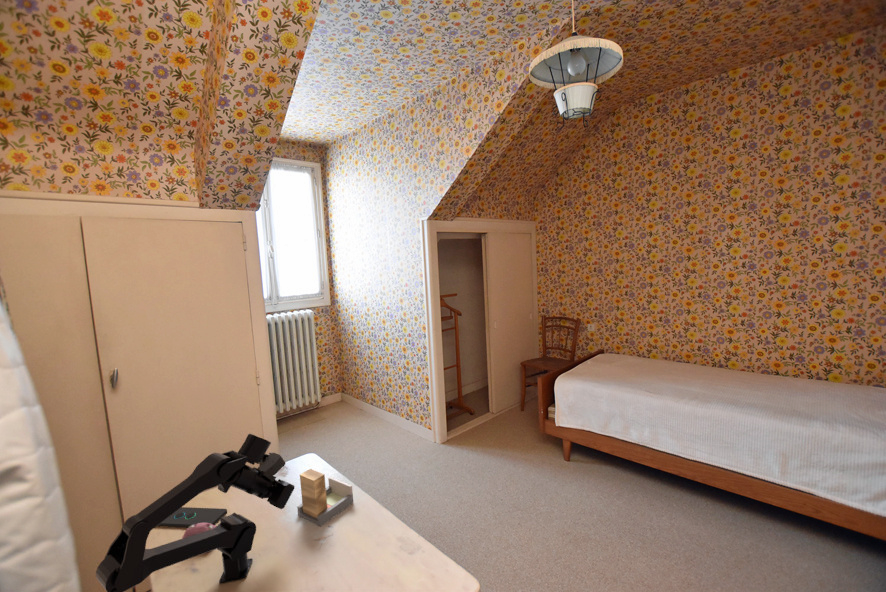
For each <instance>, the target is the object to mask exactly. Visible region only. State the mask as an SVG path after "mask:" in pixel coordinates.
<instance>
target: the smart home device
mask: <svg viewBox="0 0 886 592" xmlns="http://www.w3.org/2000/svg"><path fill="white" fill-rule="evenodd" d="M226 514H228V509H227V508H216V507H215V508H212V507H210V508H209V507H189V506H188V507H184V506H182V507H181V508H180V509H179V510H177V511H176V512H175V513H173V514H172V515H171V516H169V517H168V518H167V519H165V520H164V521H163V522H162V523H160V524H159V525H158V526H157V527H161V526H168V528H185V529H188V528H189V527H190V526H191V525H194V524H198V523H210V524H213V525H217V524H218V523H219V522H220V518H221V517H224V516H226Z"/></svg>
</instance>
